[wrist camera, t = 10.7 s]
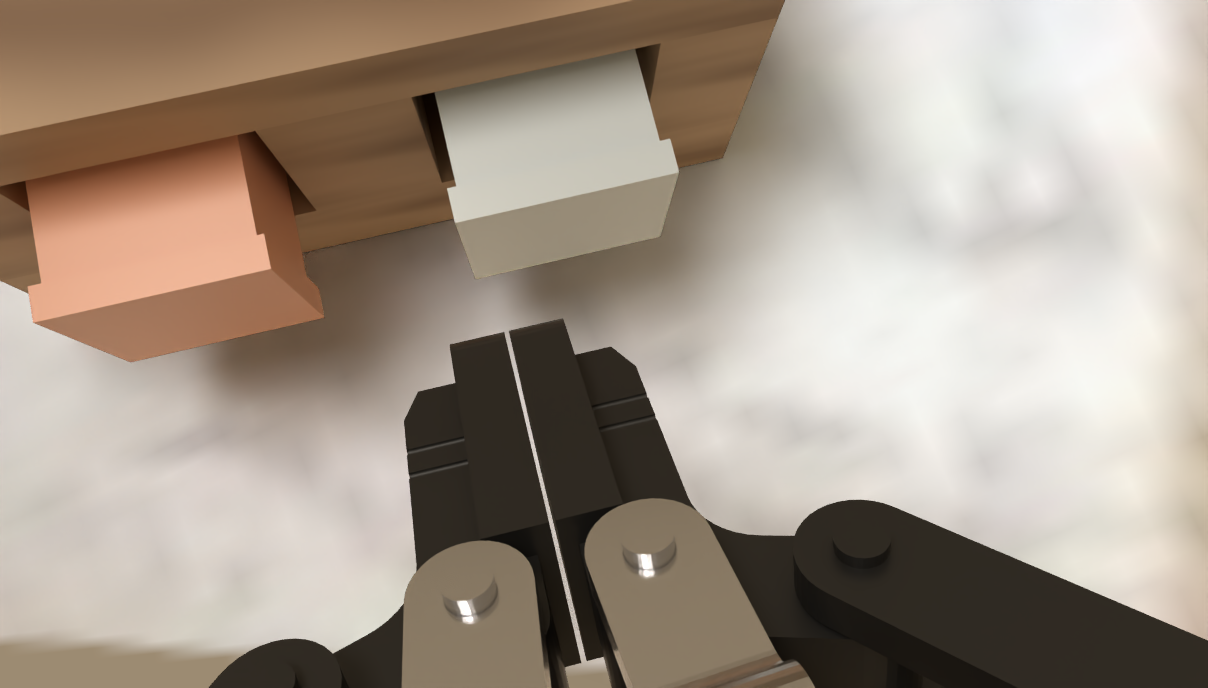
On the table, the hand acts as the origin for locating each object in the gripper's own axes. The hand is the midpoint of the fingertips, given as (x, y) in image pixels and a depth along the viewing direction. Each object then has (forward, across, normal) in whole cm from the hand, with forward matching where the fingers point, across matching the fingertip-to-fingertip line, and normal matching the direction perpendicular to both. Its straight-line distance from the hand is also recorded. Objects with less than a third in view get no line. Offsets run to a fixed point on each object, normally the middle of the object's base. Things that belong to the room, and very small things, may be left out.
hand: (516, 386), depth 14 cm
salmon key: (+15, +7, +4) cm, 17 cm away
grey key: (+15, -2, +4) cm, 16 cm away
